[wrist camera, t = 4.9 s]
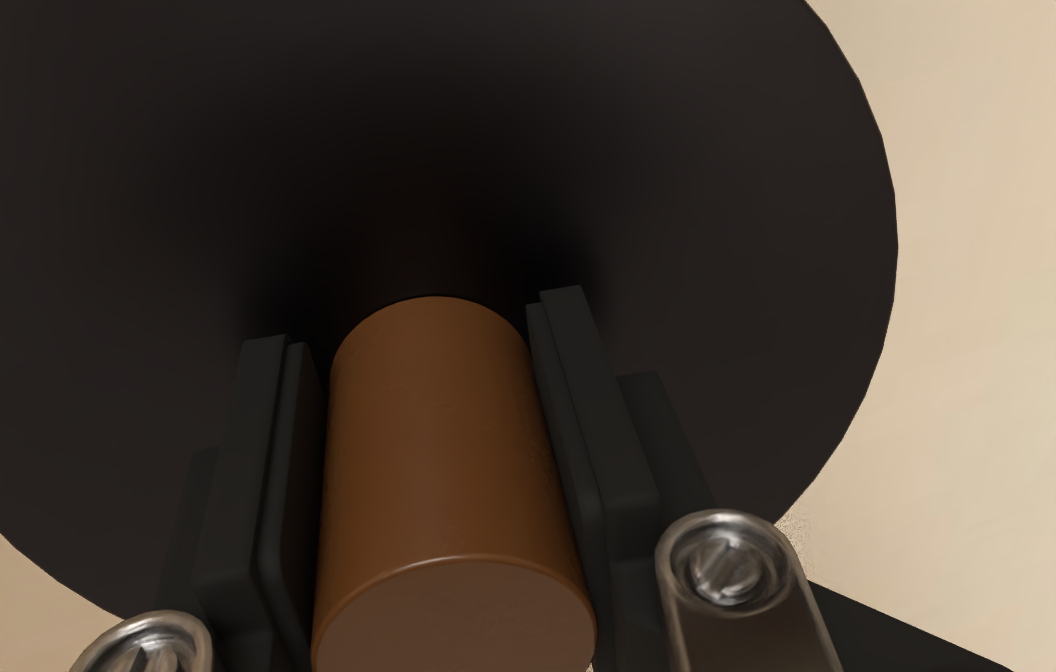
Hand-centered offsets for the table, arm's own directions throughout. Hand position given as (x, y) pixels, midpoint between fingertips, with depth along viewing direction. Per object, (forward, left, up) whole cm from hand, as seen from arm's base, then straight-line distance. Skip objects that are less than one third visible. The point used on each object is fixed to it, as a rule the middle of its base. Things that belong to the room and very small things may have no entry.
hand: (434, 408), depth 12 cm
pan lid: (0, 0, -1) cm, 1 cm away
